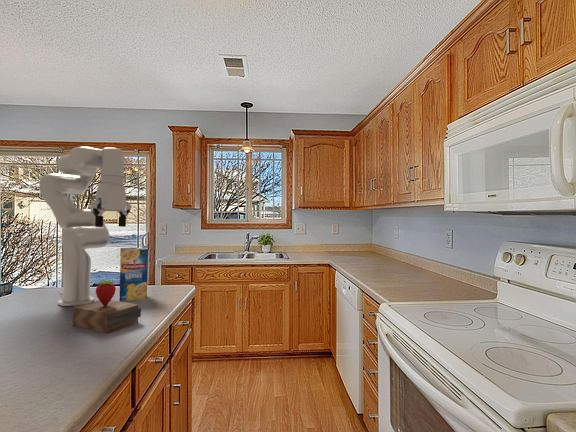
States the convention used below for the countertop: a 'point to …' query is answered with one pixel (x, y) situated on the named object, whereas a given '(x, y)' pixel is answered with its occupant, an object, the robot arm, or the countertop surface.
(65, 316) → the countertop surface
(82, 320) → the brown wooden block
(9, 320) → the countertop surface
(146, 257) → the blue yellow food box
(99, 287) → the strawberry
